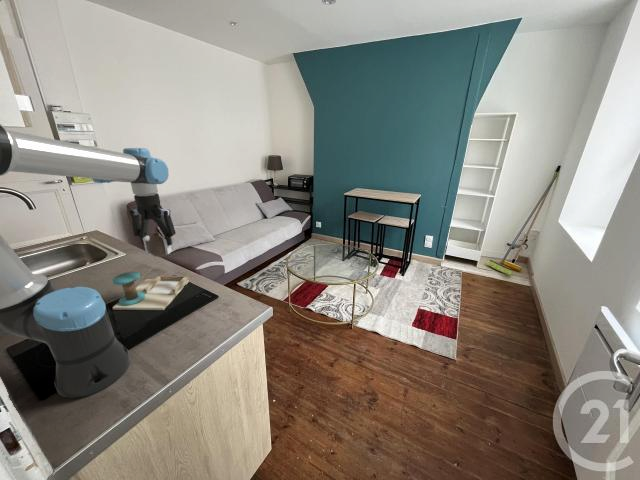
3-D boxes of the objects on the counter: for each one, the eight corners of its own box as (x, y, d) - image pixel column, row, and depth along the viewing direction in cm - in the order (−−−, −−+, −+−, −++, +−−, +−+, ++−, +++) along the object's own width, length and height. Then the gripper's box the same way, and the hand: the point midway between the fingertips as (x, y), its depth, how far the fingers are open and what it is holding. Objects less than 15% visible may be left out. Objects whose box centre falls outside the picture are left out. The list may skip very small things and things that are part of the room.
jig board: (163, 310, 95) (157, 284, 91) (113, 309, 94) (104, 284, 90) (188, 281, 113) (184, 259, 109) (146, 281, 113) (141, 259, 109)
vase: (154, 260, 98) (148, 238, 94) (147, 255, 102) (141, 234, 98) (173, 254, 103) (168, 233, 99) (165, 249, 107) (161, 229, 103)
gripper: (179, 192, 97) (189, 249, 105) (125, 191, 97) (139, 248, 105) (168, 196, 90) (180, 257, 98) (110, 195, 90) (127, 256, 98)
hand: (159, 252), depth 102 cm, fingers closed on vase, 7 cm apart
